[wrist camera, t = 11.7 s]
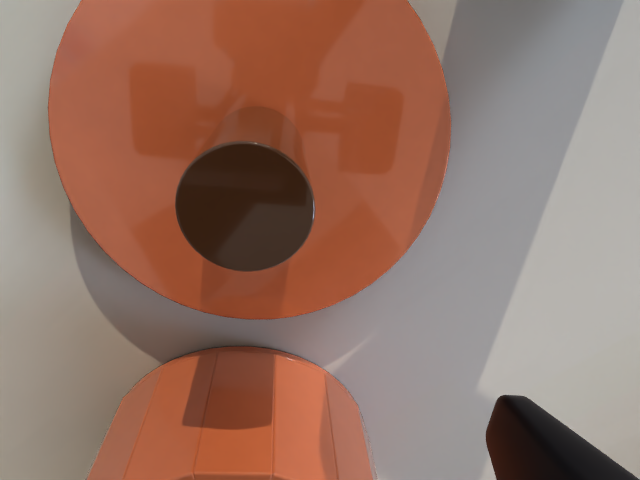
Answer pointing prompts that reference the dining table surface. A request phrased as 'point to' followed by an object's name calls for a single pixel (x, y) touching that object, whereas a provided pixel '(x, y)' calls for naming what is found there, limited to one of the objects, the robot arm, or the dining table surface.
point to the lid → (250, 144)
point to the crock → (236, 422)
